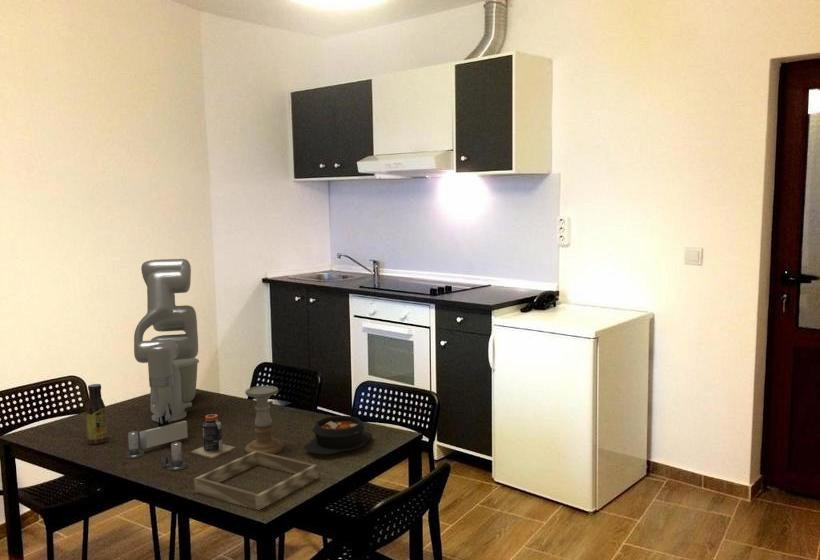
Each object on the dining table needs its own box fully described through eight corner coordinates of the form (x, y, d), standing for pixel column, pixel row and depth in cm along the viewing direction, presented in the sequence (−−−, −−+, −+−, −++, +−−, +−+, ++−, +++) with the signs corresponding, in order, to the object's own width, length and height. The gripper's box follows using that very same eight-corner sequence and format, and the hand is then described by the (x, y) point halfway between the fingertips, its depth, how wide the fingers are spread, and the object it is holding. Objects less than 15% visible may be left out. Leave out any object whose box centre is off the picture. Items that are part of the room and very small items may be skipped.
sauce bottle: (99, 445, 231) (95, 388, 228) (83, 444, 232) (79, 387, 229) (111, 439, 237) (108, 383, 235) (95, 438, 238) (91, 382, 236)
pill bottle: (226, 447, 225) (224, 414, 223) (212, 453, 220) (210, 419, 218) (214, 444, 228) (212, 411, 227) (199, 450, 223) (197, 416, 222)
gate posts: (120, 456, 220) (118, 434, 219) (136, 450, 225) (134, 428, 224) (176, 472, 207) (174, 448, 206) (191, 465, 212) (190, 442, 211)
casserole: (332, 465, 210) (331, 438, 209) (291, 452, 222) (290, 427, 221) (385, 441, 230) (384, 417, 229) (345, 431, 241) (344, 407, 240)
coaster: (214, 443, 230) (214, 441, 230) (235, 448, 225) (235, 447, 225) (190, 453, 222) (190, 451, 222) (212, 458, 217) (212, 457, 217)
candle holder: (267, 440, 233) (264, 382, 230) (291, 448, 225) (288, 388, 223) (237, 451, 223) (234, 390, 221) (261, 459, 215) (258, 397, 213)
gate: (142, 449, 222) (141, 433, 221) (139, 448, 223) (138, 431, 223) (188, 437, 233) (187, 421, 232) (185, 436, 234) (184, 420, 234)
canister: (146, 402, 280) (143, 352, 278) (187, 392, 293) (184, 344, 291) (168, 411, 268) (165, 358, 265) (209, 400, 281) (206, 350, 279)
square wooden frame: (256, 462, 213) (255, 450, 212) (318, 478, 200) (317, 464, 200) (194, 492, 192) (194, 478, 192) (259, 511, 179) (258, 496, 179)
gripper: (142, 378, 233) (146, 430, 235) (156, 387, 222) (160, 442, 224) (165, 375, 238) (168, 426, 240) (179, 383, 226) (183, 437, 228)
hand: (164, 433), depth 232 cm, fingers closed
